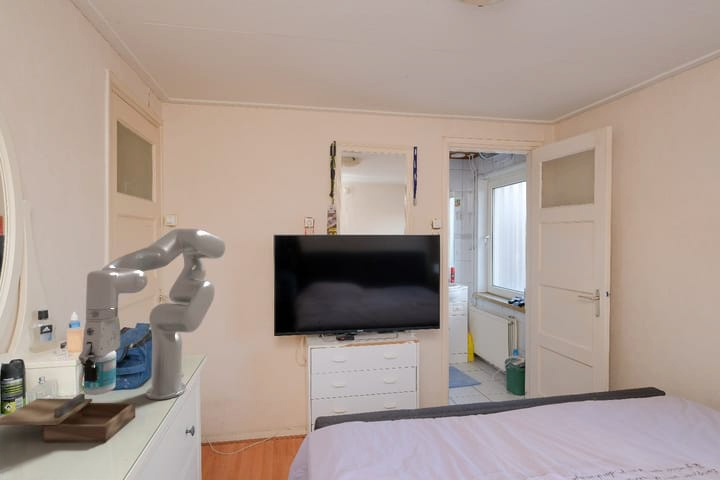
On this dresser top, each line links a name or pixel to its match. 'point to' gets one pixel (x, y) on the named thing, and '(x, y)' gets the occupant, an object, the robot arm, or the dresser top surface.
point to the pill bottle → (103, 375)
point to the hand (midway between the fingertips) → (100, 375)
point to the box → (91, 424)
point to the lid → (45, 411)
